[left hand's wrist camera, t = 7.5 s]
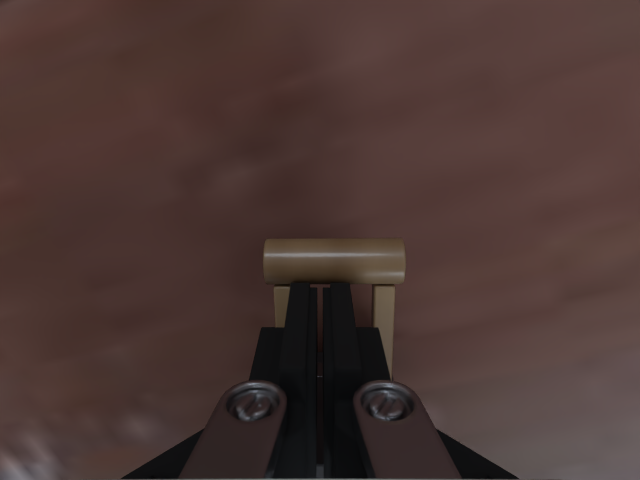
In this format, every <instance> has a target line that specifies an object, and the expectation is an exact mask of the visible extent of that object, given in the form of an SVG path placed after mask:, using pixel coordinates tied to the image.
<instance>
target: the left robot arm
mask: <svg viewBox="0 0 640 480" xmlns="http://www.w3.org/2000/svg"><path fill="white" fill-rule="evenodd" d="M323 459H324V479H316V463H317V288H310V283H291V284H290V291H289V298H288V305H287V312H286V319H285V326H284V327H262V328H261V331H260V335H259V340H258V344H257V348H256V352H255V357H254V361H253V365H252V369H251V374H250V378H249V381H245V382H242V383H239V384H237V385H234V386H233V387H231V388H230V389H228V390H227V391H226V392H225V393H224V394H223V396H222V397H221V398H220V400H219V402H218V404H217V406H216V408H215V410H214V411H213V413H212V415H211V417H210V419H209V421H208V423H207V425H206V427H205V428H204V429H203V430H201V431H199V432H198V433H196V434H194V435H193V436H191V437H189V438H188V439H186V440H184V441H183V442H181V443H179V444H178V445H176V446H174V447H173V448H171V449H169V450H168V451H166V452H164V453H163V454H161V455H159V456H158V457H156V458H154V459H153V460H151V461H149V462H148V463H146V464H144V465H143V466H141V467H139V468H138V469H136V470H134V471H133V472H131V473H129V474H128V475H126V476H124V477H123V478H121V479H81V480H559V479H519V478H517V477H516V476H514V475H512V474H511V473H509V472H507V471H506V470H504V469H502V468H501V467H499V466H497V465H496V464H494V463H492V462H491V461H489V460H487V459H486V458H484V457H482V456H481V455H479V454H477V453H476V452H474V451H472V450H471V449H469V448H467V447H466V446H464V445H462V444H461V443H459V442H457V441H456V440H454V439H452V438H451V437H449V436H447V435H446V434H444V433H442V432H441V431H439V430H437V429H436V428H435V427H434V425H433V423H432V421H431V419H430V417H429V415H428V413H427V411H426V410H425V408H424V406H423V404H422V402H421V400H420V398H419V397H418V396H417V394H416V393H415V392H414V391H413V390H412V389H410V388H409V387H407V386H406V385H403V384H401V383H398V382H395V381H391V378H390V374H389V369H388V365H387V361H386V356H385V352H384V348H383V344H382V339H381V335H380V331H379V328H378V327H356V326H355V319H354V312H353V305H352V298H351V291H350V284H349V283H330V288H323Z"/></svg>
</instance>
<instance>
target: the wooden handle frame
mask: <svg viewBox="0 0 640 480" xmlns="http://www.w3.org/2000/svg"><path fill="white" fill-rule="evenodd" d="M405 272H406V253H405V245H404V241H403V239H402V238H289V239H266V240H265V243H264V249H263V274H264V280H265V283H266V284H275V285H274V288H273V290H274V311H275V327H284V326H285V319H286V312H287V305H288V298H289V291H290V284H291V283H310V284H330V283H349V284H372V315H371V327H378V328H379V331H380V335H381V339H382V344H383V348H384V352H385V356H386V361H387V365H388V369H389V374H390V378H391V381H393V376H392V362H393V336H394V310H395V285H394V284H402V283H403V282H404V279H405ZM316 479H324V459H323V352H317V463H316Z"/></svg>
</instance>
